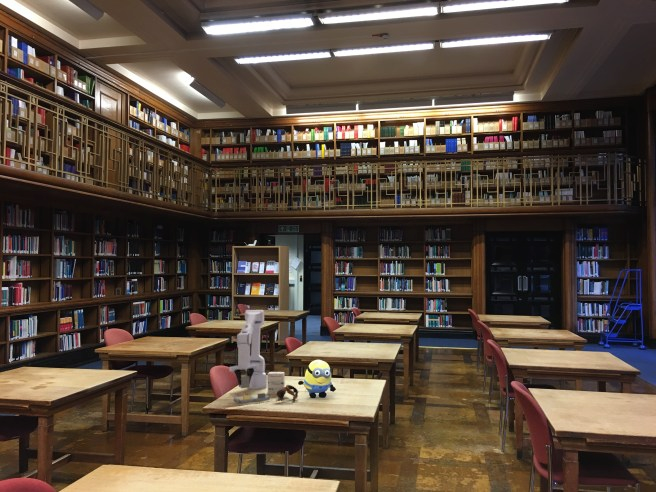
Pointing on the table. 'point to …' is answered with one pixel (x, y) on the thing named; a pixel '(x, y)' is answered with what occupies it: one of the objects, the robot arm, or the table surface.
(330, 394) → the table surface
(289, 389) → the brown curved arch
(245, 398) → the brass tag
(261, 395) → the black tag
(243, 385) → the plug
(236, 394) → the deck
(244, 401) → the socket panel
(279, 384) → the ink box
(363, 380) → the table surface
